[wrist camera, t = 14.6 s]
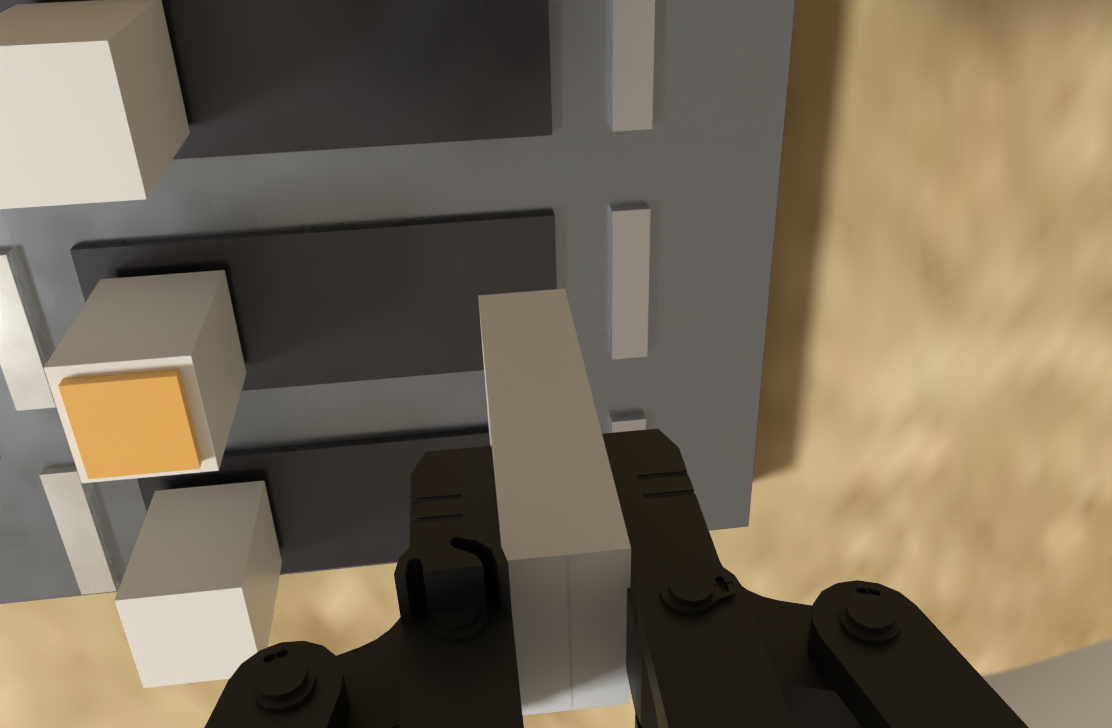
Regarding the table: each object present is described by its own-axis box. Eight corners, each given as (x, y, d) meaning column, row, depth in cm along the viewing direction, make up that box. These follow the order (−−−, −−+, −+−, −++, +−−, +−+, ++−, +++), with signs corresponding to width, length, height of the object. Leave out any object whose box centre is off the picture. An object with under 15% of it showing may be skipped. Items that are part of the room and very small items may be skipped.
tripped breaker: (100, 279, 25) (38, 375, 21) (224, 269, 25) (188, 362, 21) (129, 383, 26) (77, 491, 22) (246, 373, 26) (216, 478, 22)
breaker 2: (154, 491, 28) (114, 600, 24) (264, 480, 28) (241, 587, 24) (178, 572, 29) (143, 687, 26) (282, 562, 30) (262, 674, 26)
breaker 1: (16, 4, 21) (-69, 49, 18) (160, -3, 22) (107, 40, 18) (55, 141, 23) (-16, 210, 19) (189, 132, 23) (146, 199, 19)
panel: (-258, -49, 22) (-324, -34, 20) (775, -93, 25) (807, -84, 23) (-10, 562, 31) (-39, 615, 29) (731, 488, 34) (751, 532, 32)
